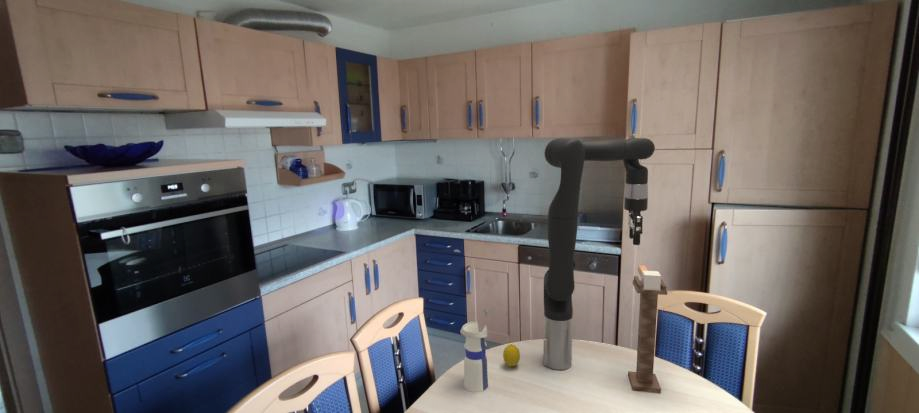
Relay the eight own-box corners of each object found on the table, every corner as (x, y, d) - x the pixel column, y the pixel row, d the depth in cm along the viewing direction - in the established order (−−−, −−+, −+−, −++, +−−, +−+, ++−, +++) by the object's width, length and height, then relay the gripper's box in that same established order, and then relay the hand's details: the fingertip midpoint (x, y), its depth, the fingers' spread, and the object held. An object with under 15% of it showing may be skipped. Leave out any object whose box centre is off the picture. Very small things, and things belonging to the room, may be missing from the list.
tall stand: (632, 390, 128) (637, 285, 122) (628, 375, 136) (632, 275, 130) (660, 393, 126) (667, 286, 120) (654, 378, 134) (661, 277, 128)
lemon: (519, 362, 145) (519, 340, 144) (520, 371, 140) (520, 348, 138) (503, 361, 146) (503, 340, 144) (503, 370, 140) (503, 348, 139)
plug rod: (643, 289, 122) (644, 275, 122) (634, 270, 138) (634, 257, 137) (660, 290, 121) (661, 275, 121) (648, 271, 137) (649, 258, 136)
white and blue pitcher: (471, 373, 139) (469, 301, 135) (494, 381, 134) (493, 307, 130) (457, 386, 133) (454, 311, 128) (480, 395, 128) (478, 317, 123)
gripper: (621, 193, 155) (620, 236, 158) (627, 199, 141) (626, 246, 144) (643, 193, 153) (642, 236, 156) (651, 199, 140) (649, 247, 142)
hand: (634, 241), depth 150 cm, fingers open, 8 cm apart
